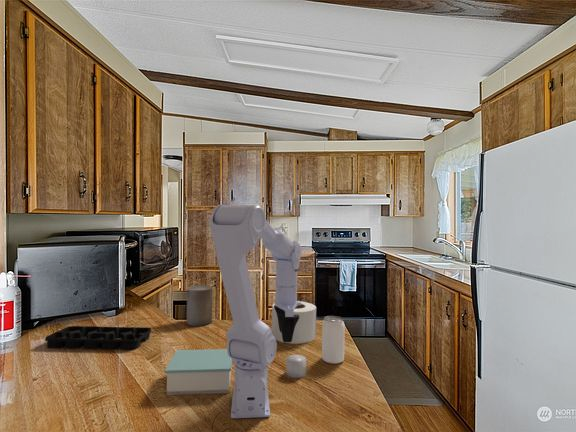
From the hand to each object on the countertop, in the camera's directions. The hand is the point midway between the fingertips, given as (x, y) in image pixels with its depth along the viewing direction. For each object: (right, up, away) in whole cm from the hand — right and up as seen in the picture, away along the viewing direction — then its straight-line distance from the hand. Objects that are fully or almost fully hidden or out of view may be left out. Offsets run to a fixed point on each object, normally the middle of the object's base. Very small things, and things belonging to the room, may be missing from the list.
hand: (285, 336), depth 89 cm
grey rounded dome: (+3, -10, -1) cm, 10 cm away
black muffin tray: (-60, -9, +18) cm, 63 cm away
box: (-21, -9, -6) cm, 23 cm away
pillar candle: (-34, -10, +41) cm, 55 cm away
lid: (-21, -4, -6) cm, 22 cm away
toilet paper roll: (+3, -10, +29) cm, 30 cm away
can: (+14, -10, +9) cm, 19 cm away
